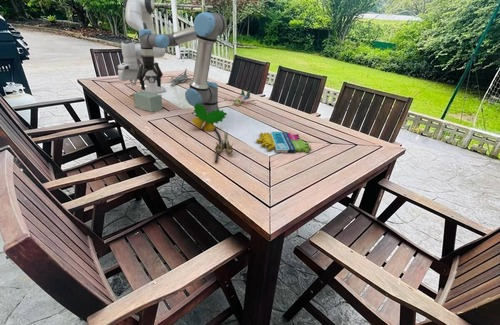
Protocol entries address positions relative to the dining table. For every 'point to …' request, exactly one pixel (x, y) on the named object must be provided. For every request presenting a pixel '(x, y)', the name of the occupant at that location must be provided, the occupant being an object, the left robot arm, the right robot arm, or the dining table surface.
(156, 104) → the grey-green rectangular block
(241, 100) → the toy
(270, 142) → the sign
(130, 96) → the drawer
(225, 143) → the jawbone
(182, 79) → the airplane
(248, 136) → the dining table surface
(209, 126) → the ornament
